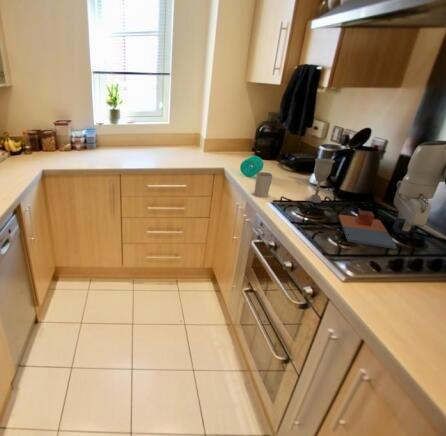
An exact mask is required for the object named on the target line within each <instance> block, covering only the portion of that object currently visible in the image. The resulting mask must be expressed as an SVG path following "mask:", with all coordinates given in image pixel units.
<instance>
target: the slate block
mask: <svg viewBox="0 0 446 436" xmlns="http://www.w3.org/2000/svg"><path fill="white" fill-rule="evenodd" d="M405 220H406V219H399V218H398V217H395V220H394V222H393V225H392V228H391V229H392V230H393V231H394V233H396V234H402V235H411V233H412V231H413V227H414V226H413V225H412V226H411V227H410V230H409V231H403V230H402V225H404V224H405Z"/></svg>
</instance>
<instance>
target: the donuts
mask: <svg viewBox="0 0 446 436" xmlns="http://www.w3.org/2000/svg"><path fill="white" fill-rule="evenodd" d="M239 167H240V168H239V169H240V170H239V171H240V172H241V174H243V176H245V177H250V178H251V177H254V176H256V174H257V173H259V172H262V171H263V169H264V160H263V159H262V158H261V157H260V156H257V155H251V156H249V157H247V158H245V159H243V160H242V162H241V163H240V166H239Z"/></svg>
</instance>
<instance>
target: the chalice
mask: <svg viewBox="0 0 446 436" xmlns="http://www.w3.org/2000/svg"><path fill="white" fill-rule="evenodd" d="M314 161H315V165H314V168H313V175H314V178H315V181H316V182H317V184H316V188H315V189H314V190H315V193H314V194H311V195H310V196H309V198H308V201H309V202H312V203H316V204H317V203H319V204H320V203H322V198H321V195H320V194H319V192H320V191H321V190H320V187H321V183H322V182H325V180H326V179H327V178H328V177H329V176H330V174H331V173H332V170H333V169H332V168H333V165H334V164H335V162H336V161H335V159H330V158H319V157H318V158H315V159H314Z"/></svg>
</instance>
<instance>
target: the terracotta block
mask: <svg viewBox="0 0 446 436" xmlns="http://www.w3.org/2000/svg"><path fill="white" fill-rule="evenodd" d="M356 217H357V218H356V221H357V224H360V225H367V226H371V225H372V222H373V219H375V214H374V213H373V212H372V211H369V210H368V211H367V210H358V212H357V215H356Z"/></svg>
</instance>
